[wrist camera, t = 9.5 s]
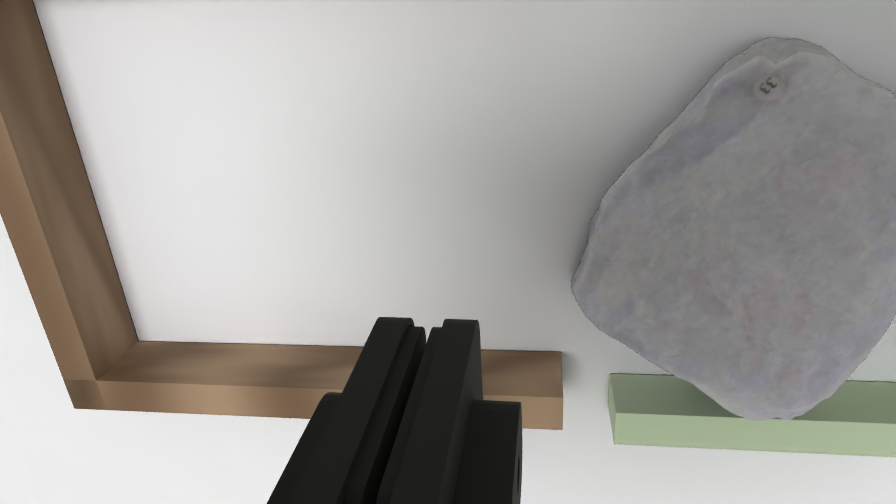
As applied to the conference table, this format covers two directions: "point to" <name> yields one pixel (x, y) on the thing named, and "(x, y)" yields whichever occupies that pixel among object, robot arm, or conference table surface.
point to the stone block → (755, 234)
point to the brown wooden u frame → (103, 303)
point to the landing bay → (711, 426)
